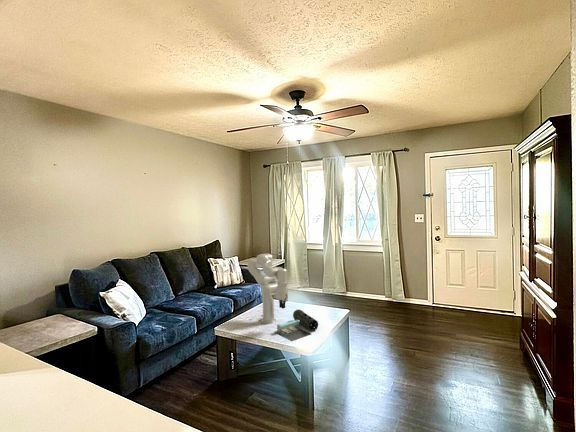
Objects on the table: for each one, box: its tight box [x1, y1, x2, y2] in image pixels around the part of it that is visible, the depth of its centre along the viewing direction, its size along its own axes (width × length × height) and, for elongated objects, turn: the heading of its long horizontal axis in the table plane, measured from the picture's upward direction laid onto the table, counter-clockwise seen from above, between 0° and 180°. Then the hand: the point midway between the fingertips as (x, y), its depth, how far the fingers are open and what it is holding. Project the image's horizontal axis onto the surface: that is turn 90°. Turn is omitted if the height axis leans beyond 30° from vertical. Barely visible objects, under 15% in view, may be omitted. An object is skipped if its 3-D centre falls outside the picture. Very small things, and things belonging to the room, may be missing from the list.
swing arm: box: [276, 319, 301, 333], centre depth 244 cm, size 22×4×5 cm, turn 129°
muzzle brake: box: [292, 309, 319, 332], centre depth 253 cm, size 10×28×10 cm, turn 25°
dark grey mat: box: [273, 325, 312, 342], centre depth 237 cm, size 22×20×1 cm
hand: (282, 307), depth 247 cm, fingers closed
